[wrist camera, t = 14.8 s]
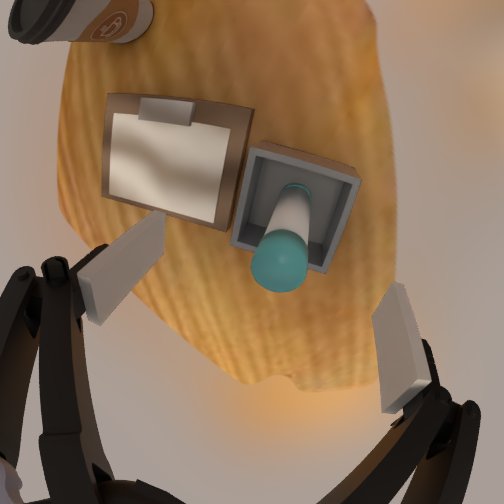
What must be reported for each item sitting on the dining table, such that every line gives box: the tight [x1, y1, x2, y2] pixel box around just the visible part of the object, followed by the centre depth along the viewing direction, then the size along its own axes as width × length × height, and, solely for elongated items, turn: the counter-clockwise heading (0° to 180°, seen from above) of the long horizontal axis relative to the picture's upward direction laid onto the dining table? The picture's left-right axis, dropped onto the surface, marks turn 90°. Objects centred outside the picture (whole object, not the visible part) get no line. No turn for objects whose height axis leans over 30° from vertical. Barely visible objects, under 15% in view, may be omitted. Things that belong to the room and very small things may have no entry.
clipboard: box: [102, 93, 254, 232], centre depth 27 cm, size 13×17×2 cm
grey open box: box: [230, 141, 362, 274], centre depth 25 cm, size 9×9×5 cm
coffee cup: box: [8, 0, 153, 45], centre depth 14 cm, size 8×8×15 cm
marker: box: [251, 183, 312, 292], centre depth 21 cm, size 3×3×13 cm
